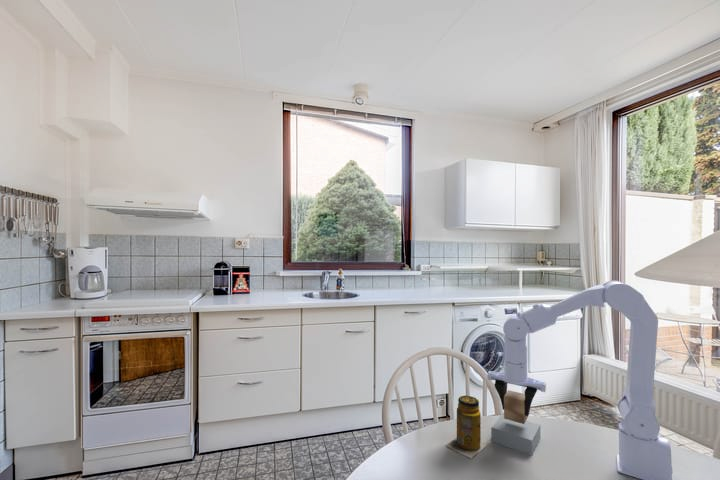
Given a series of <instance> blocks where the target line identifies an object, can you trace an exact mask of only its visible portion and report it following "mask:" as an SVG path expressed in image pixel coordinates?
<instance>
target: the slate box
mask: <svg viewBox="0 0 720 480" xmlns="http://www.w3.org/2000/svg"><path fill="white" fill-rule="evenodd" d="M490 429H491V434H490V435H491V442H493V443H496V444H498V445H501V446H504V447H507V448H510V449H513V450H516V451H519V452H522V453H525V454H527V455H530V456H533V454H534V452H535V450H536V448H537V446H538V444H539V443H540V440H541V424H539V423H536V422H533V421H528V420H526V422H525V423H524V424H522V423H518V422H514V421H511V420H507V419H504V413H502V414H501V415H500V416H499V417H498V418H497V420H496V421H495V423H493V425H492V426H491V427H490Z"/></svg>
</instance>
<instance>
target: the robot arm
mask: <svg viewBox="0 0 720 480" xmlns="http://www.w3.org/2000/svg"><path fill="white" fill-rule="evenodd" d="M604 303H606V304H607V305H608V306H609V307H610V308H611V309H614V310H615V311H617V312H619V313H621V314H622V315H623V316H624V317H625V318H627V319H628V321H629V322H630V328H629V339H628V340H629V342H628V356H627V370H626V384H625V386H624V389H623V395H622V397H621V398H620V399H619V400H618V402H617V410H618V411H619V414H620V415H621V417H622V420H621V421H620V422H619V423H618V453H617V454H616V462H617V463H616V464H617V465H616V466H617V472H618V473H620V474H623V475H626V476H630V477H632V478H633V477H634V478H637V479H639V480H673V465H672V450H671V449H672V447H671V442H670V440H669V438H667V437H663V436H662V435H659V434H660V431H661V425H660V422H659V420H658V419H657V416H656V404H655V399H654V386H655V385H654V384H655V371H656V359H657V358H656V356H657V355H656V354H657V342H658V341H657V340H658V328H659V318H658V316H657V314H656V313H655V312H654V310H653V308H651V306H650V304H649V303H648V302H647V300H646V299H645V297H644V295H643V294H642V293H641V292H639V291H638V290H637V289H635V288H634V287H633V286H631V285H629V284H627V283H624V282H622V281H619V280H609V281H606V282H605V283H603V284H598V285H597V284H596V285H594V286H592V287H588V288H586V289H584V290H581V291H580V292H579V291H578V292H577V293H576V294H572V295H571V296H568V297H566V298H564V299H563V300H561V301H558V302H557V303H554V304H552V305H548V304H544V303H541V304H538V303H535V304H533V305H532V308H530V309H528V310H526V311H525V310H524V311H523V312H520V311H519V312H517V313H516V314H515V315H516V316H515V315H512V316H510V317H508V318H507V319H506V321H504V323H503V326H502V329H503V333H504V344H503V347H504V349H503V350H504V351H503V354H504V355H503V357H504V358H503V360H504V361H503V362H504V365H503V366H504V367H503V368H504V369H503V370H504V372H500V371H491V370H489V371H488V372H487V380H488V381H494V382H495V383H494V388H495V390H496V392H497V394H498V397H499V400H500V403H501V406H502V407H501V408H502V410H503V411H504V395H505V394H506V393H507V391H508V384H511V385H514V386H519V387H524V388H525V389H524V394H525V416H528V417H529V415H530V411H531V407H532V406H531V405H532V402H533V400H534V397H535V396H536V393H537V392H538V391H540V392H543V393H546V391H547V382H544V381H541V380H537V379H534V378H531V377H528V345H527V334H534V333H537V332H538V331H542V330H544V329H546V328H549V327H551V326H553V325H556V323H557V319H558V318H560V317H562V316H565V315H567V314H569V313H573V312H575V311H577V310H580V309H584V308H585V307H589V306H590V307H591V306H592V307H599V308H601V307H602V308H605V307H606V306H605V304H604Z"/></svg>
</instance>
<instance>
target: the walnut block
mask: <svg viewBox="0 0 720 480" xmlns="http://www.w3.org/2000/svg"><path fill="white" fill-rule="evenodd" d="M503 414H504V419H507V420H511V421H514V422H518V423H522V424H524V423H525V422H526V421H528V420H527V419H528V417H529V415H528V416H525V393H523V392H518V391H514V390H510V389H509V390H508V389H507V393H506V394H505V395H504V410H503Z"/></svg>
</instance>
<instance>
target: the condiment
mask: <svg viewBox="0 0 720 480" xmlns="http://www.w3.org/2000/svg"><path fill="white" fill-rule="evenodd" d="M457 400H458V402H457V408H456V438H454V439H453V440H451V441H450V442H448V443H447V444H445V446H446V447H448V448H449V449H451V450H453V451H454V452H456V453H459V454H461V455H463V456H465V457H468V458H470V459H472V458H474V457H475V455H477V454H478V453H479V452H481V451H482V450H483V449H485V448H486V446H487V445H488V444H486V443H484V442H481V441H482V440H481V436H482V434H481V428H482V426H481V423H482V422H481V420H482V419H481V411H480V401H479V399H477V398H476V397H475V396H470V395H461V396H459V397H458V399H457Z"/></svg>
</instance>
